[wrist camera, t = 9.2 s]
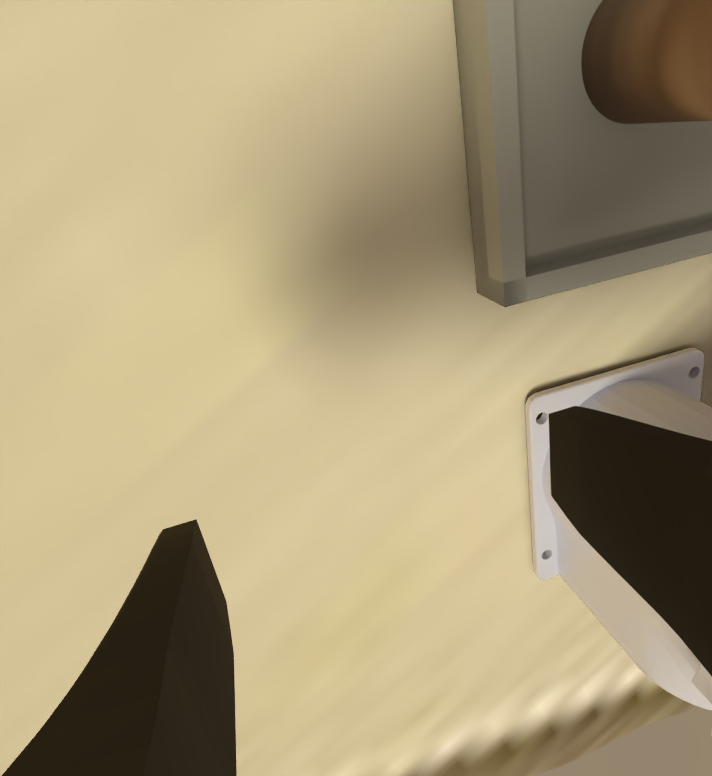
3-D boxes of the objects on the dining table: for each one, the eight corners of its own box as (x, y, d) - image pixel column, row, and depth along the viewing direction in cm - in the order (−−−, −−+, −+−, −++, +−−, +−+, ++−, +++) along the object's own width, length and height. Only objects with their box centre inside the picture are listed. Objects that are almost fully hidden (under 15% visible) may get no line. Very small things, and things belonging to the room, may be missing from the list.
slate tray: (737, 226, 22) (785, 233, 21) (477, 292, 21) (504, 307, 19) (787, -225, 17) (859, -269, 15) (436, -188, 15) (470, -233, 13)
